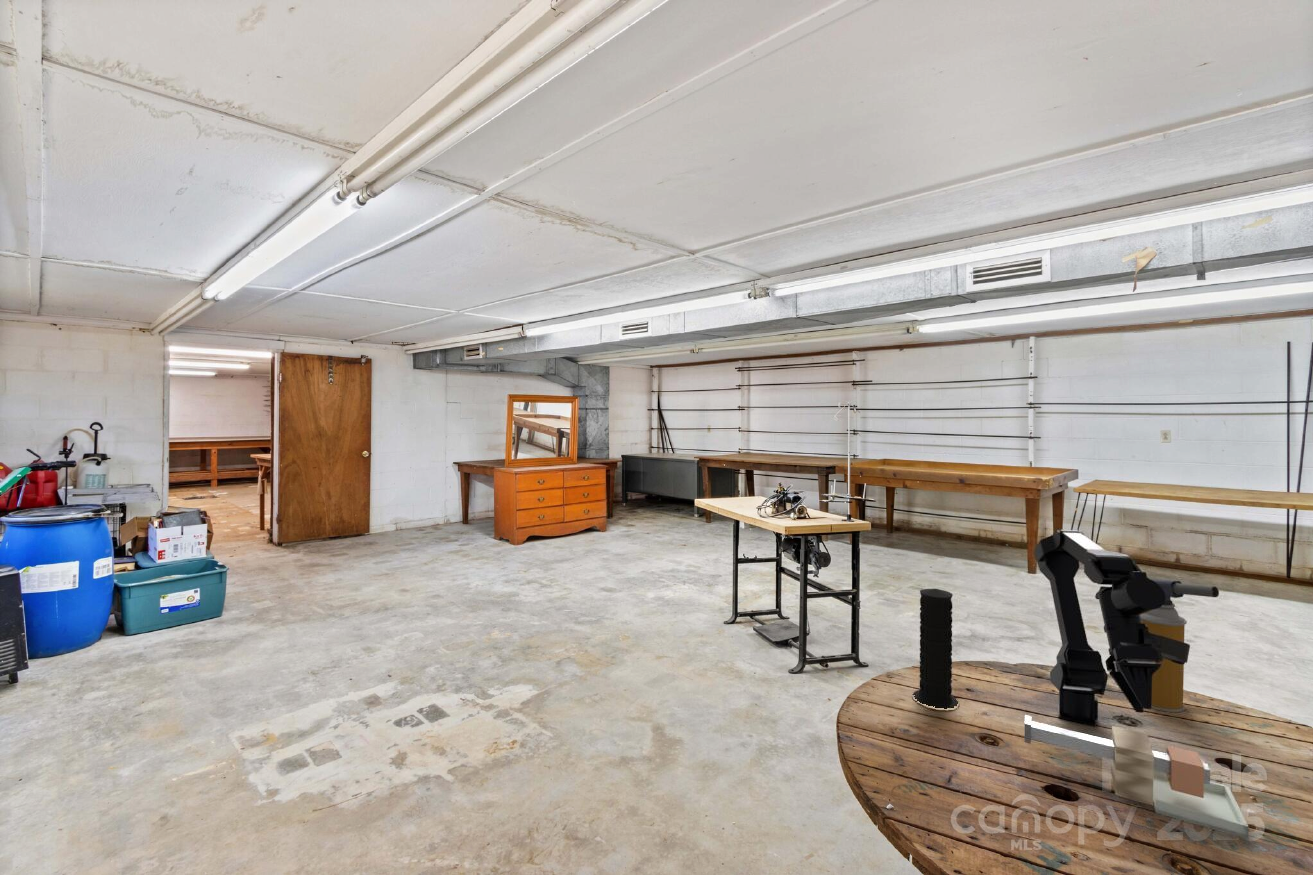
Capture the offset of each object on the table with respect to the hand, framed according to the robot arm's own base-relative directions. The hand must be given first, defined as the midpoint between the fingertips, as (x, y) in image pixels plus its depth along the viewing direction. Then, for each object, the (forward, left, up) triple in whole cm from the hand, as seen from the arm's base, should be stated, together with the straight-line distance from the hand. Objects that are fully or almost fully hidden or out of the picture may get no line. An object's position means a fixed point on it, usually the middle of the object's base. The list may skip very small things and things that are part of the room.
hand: (1143, 710), depth 102 cm
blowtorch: (+9, +40, -14) cm, 44 cm away
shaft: (-5, -1, -10) cm, 11 cm away
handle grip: (-36, +15, -14) cm, 41 cm away
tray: (+6, -1, -14) cm, 15 cm away
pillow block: (-2, -1, -14) cm, 14 cm away
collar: (+5, -1, -11) cm, 12 cm away
